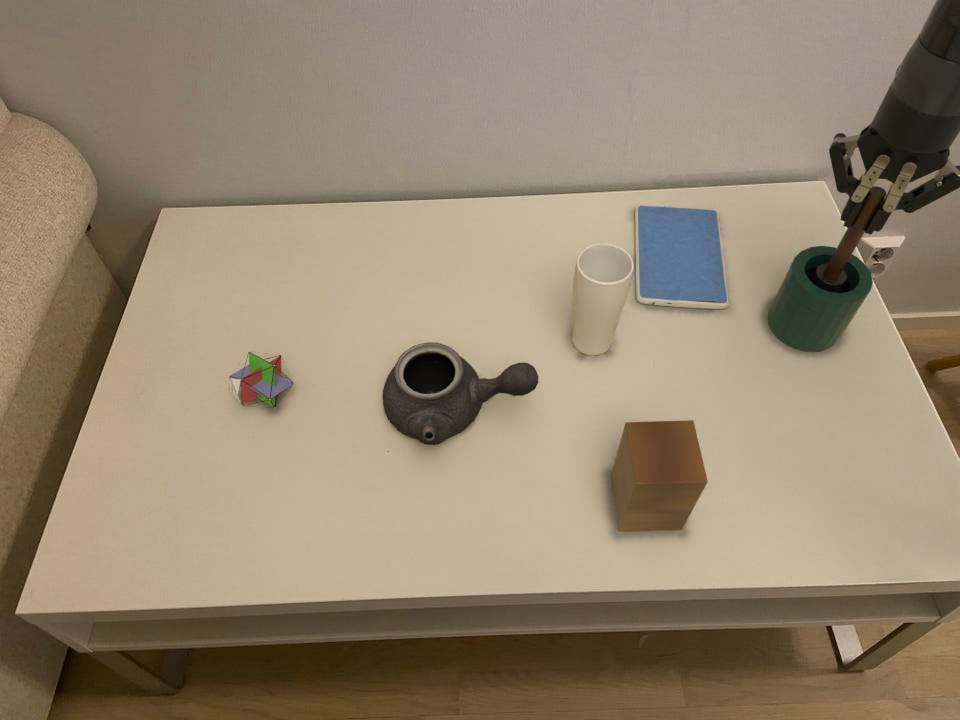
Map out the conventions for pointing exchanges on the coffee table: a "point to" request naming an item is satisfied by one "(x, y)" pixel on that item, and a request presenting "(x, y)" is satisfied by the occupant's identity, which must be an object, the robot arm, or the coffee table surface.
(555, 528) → the coffee table surface
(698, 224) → the tablet
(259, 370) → the geometric puzzle
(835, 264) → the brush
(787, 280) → the green hollow cylinder
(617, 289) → the white tall cup
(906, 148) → the robot arm
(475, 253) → the coffee table surface
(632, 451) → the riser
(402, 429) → the teapot
